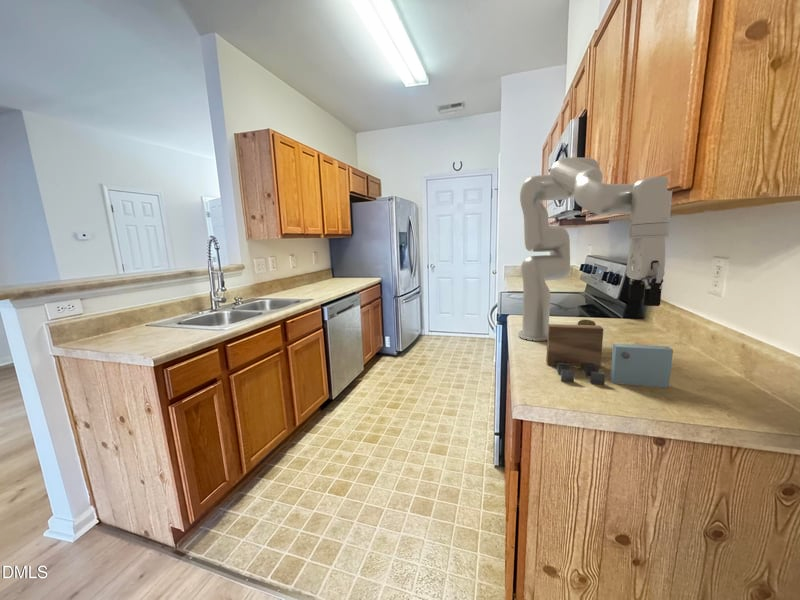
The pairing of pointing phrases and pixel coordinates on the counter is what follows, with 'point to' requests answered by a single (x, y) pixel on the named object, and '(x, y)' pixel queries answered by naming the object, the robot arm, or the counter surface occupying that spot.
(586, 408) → the counter surface
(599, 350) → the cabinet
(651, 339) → the counter surface
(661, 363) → the block
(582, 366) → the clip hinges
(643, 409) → the counter surface
